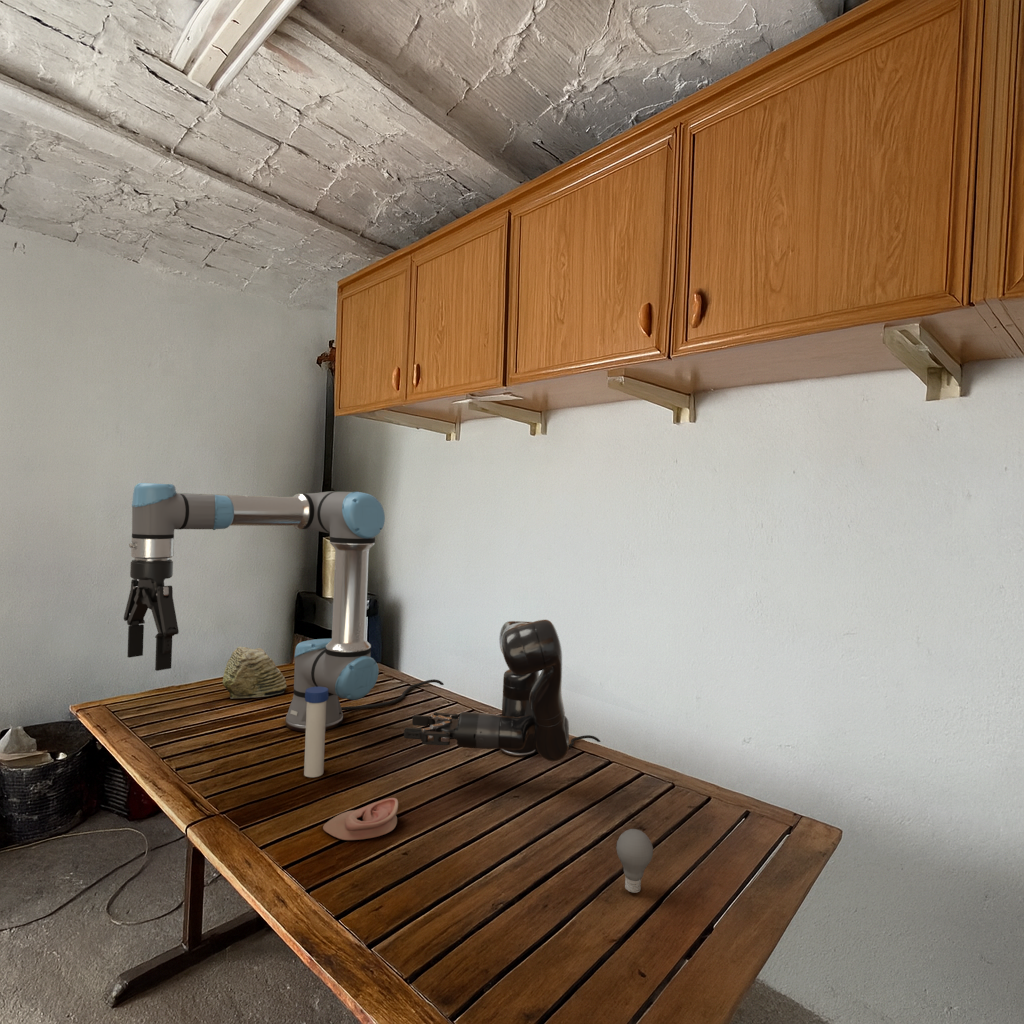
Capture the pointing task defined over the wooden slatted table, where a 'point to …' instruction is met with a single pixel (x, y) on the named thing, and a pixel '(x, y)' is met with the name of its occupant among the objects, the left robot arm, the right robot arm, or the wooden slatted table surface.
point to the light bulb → (634, 857)
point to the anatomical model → (364, 821)
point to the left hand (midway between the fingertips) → (148, 662)
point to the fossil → (252, 674)
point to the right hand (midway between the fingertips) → (408, 726)
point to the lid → (316, 694)
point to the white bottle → (315, 739)
